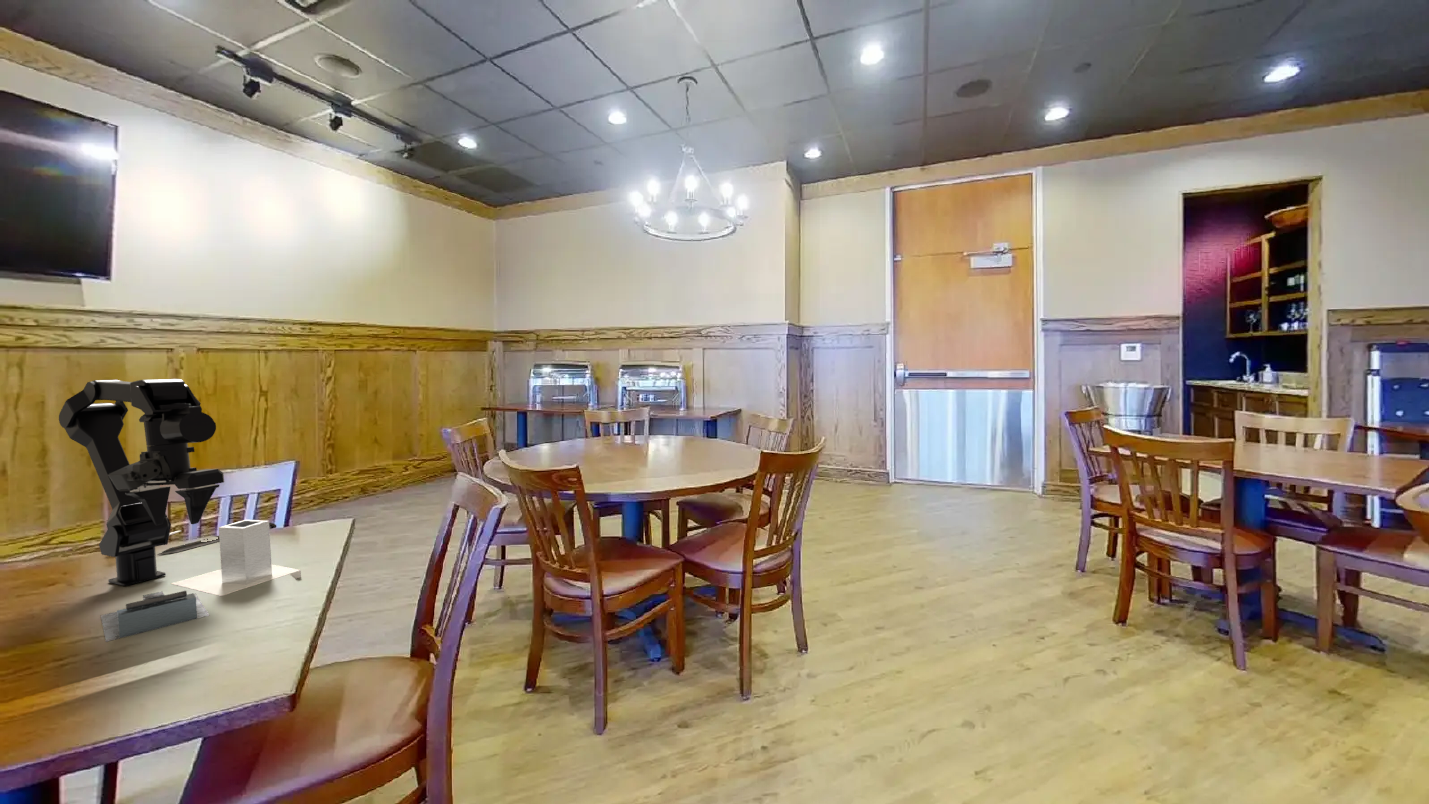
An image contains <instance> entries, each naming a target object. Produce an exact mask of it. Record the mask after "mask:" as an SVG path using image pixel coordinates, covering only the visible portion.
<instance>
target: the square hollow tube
mask: <svg viewBox="0 0 1429 804" xmlns="http://www.w3.org/2000/svg"><path fill="white" fill-rule="evenodd" d="M269 522H270V520H262V519H261V520H259V519H244V520H239V521H236V522H233V523H230V524H226V525H222V526H218V534H219V535H218V536H219V540H220V541H219V553H220V567H221V568H220V569H221V572H222V583H229V584H244V585H247V584H249V583H252V582H254V581H257V580H259V579H262V578H264V577H267V576H269V575H272V564H273V563H272V554H271V553H272V552H271V551H272V549H271V535H270V533H271V532H270V531H271V530H270V527H269Z"/></svg>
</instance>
